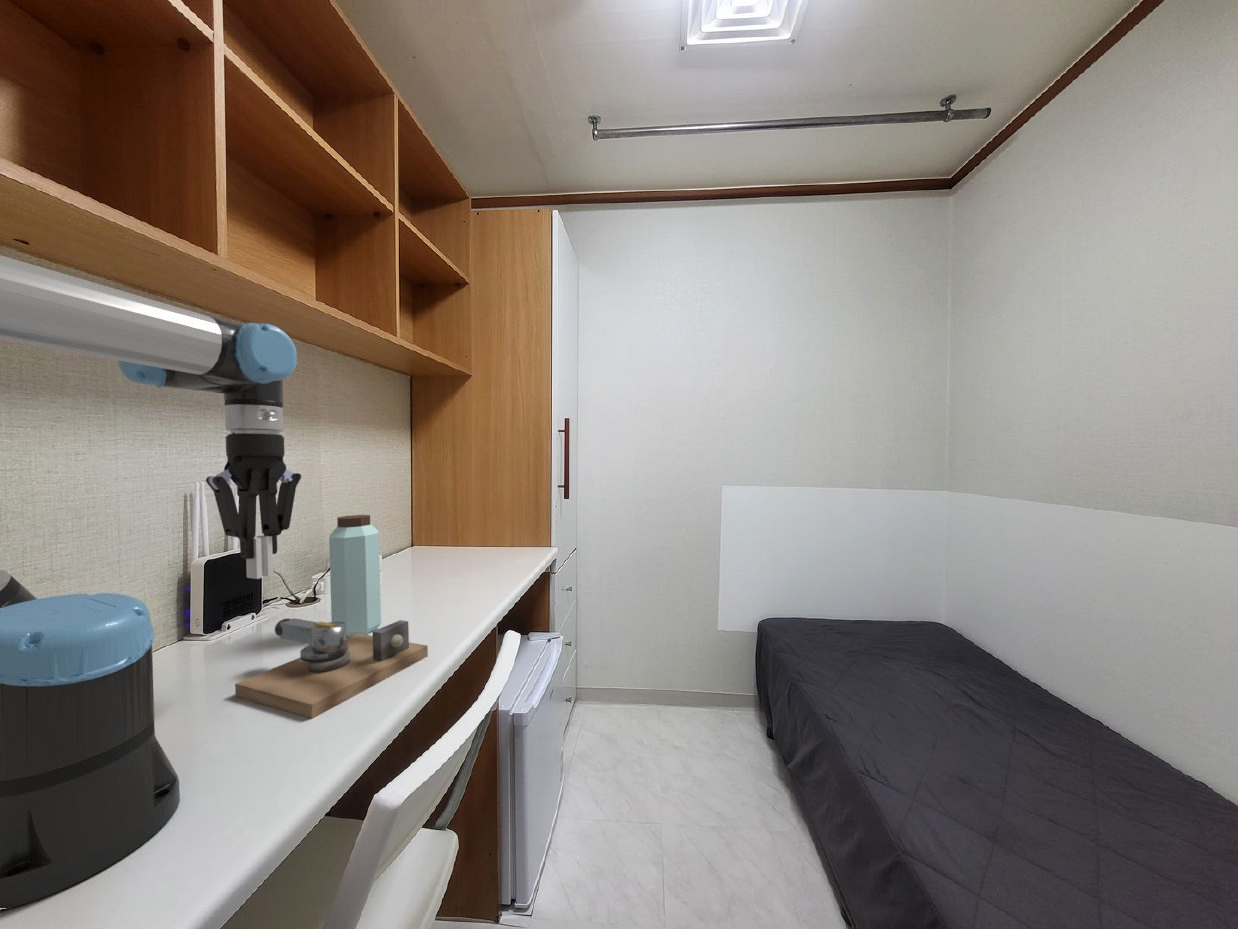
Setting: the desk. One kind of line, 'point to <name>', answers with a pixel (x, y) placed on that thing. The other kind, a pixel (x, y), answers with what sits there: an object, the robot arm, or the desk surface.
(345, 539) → the water bottle
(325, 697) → the rotary lever board
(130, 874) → the desk surface
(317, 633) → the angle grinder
